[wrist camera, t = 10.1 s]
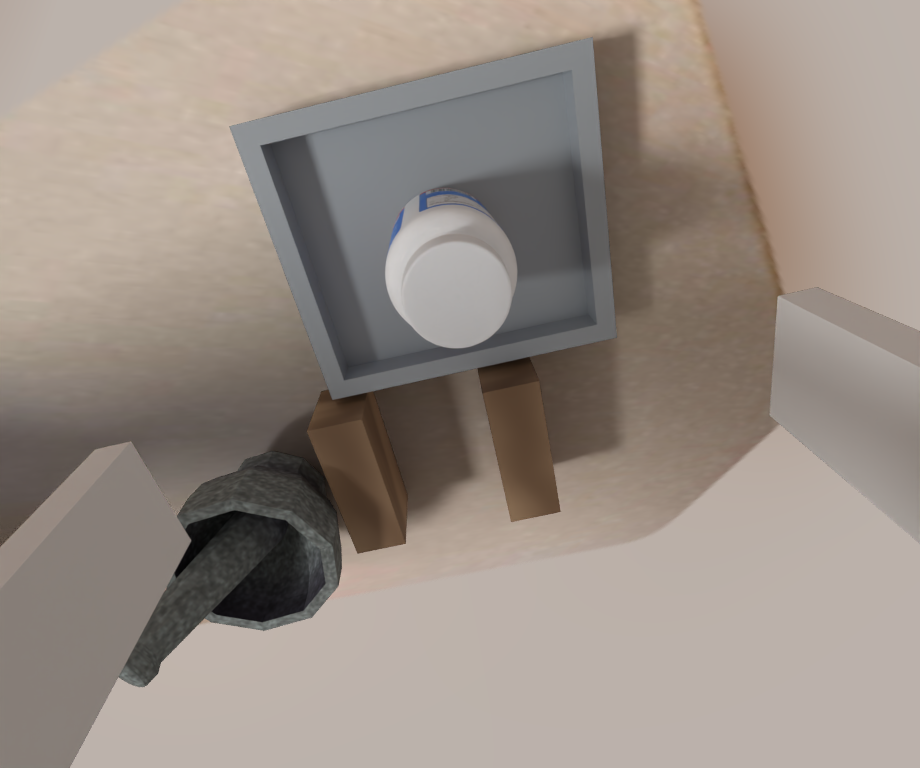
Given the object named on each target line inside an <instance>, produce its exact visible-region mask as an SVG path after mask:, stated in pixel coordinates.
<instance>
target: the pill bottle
mask: <svg viewBox="0 0 920 768" xmlns="http://www.w3.org/2000/svg"><path fill="white" fill-rule="evenodd" d="M385 280H386V286H387V291H388V294H389V297H390V299H391V302H392V303H393V305H394V307H395V309H396V310H397V312H398V313H399V314H400V315H401V317H402V318H403V319H404V320H405V321H406V322H407V323H409V324H410V325H411V326H412V327H413V329H414V330H415V331H416V332H417V333H418V334H419V335H420V336H422V337H423V338H424V339H426V340H427V341H429V342H431V343H433V344H435V345H439V346H442V347H447V348H466V347H471V346H474V345H476V344H479V343H481V342H483V341H485V340H486V339H488V338H490V337H491V336H492V335H493V334H494V333H495V332H496V331H497V330H498V329H499V328H500V327H501V325H502V324H503V323H504V321H505V319H506V317H507V315H508V313H509V310H510V306H511V302H512V297H513V295H514V291H515V288H516V283H517V262H516V257H515V253H514V250H513V248H512V245H511V243H510V241H509V239H508V238H507V236H506V234H505V233H504V231H503V230H502V228H501V227H500V226H499V225H498V224H497V222H496V221H495V220H494V219H493V217H492V216H491V215H490V214H489V212H488V211H487V210H486V208H485V207H484V206H483V205H482V204H481V203H480V202H479V201H478V200H477V199H476V198H474V197H473V196H471V195H470V194H468V193H466V192H463V191H460V190H456V189H452V188H438V189H432V190H428V191H426V192H423V193H421V194H419V195H417V196H416V197H414V198H413V199H412V200H410V201H409V202H408V203H407V204H406V205H405V207H404V208H403V209H402V210H401V212H400V213H399V215H398V217H397V219H396V221H395V223H394V226H393V230H392V235H391V240H390V244H389V249H388V254H387V258H386V266H385Z"/></svg>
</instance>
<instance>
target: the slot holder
mask: <svg viewBox="0 0 920 768" xmlns="http://www.w3.org/2000/svg"><path fill="white" fill-rule="evenodd" d="M478 373H479V378H480V383H481V388H482V393H483V397H484V402H485V406H486V411H487V415H488V420H489V424H490V429H491V433H492V438H493V442H494V447H495V451H496V456H497V460H498V465H499V469H500V474H501V478H502V483H503V487H504V492H505V496H506V501H507V505H508V510H509V514H510V519H511V522H514V521H518V520H523V519H528V518H533V517H538V516H543V515H548V514H553V513H557V512H561V511H560V505H559V499H558V493H557V487H556V481H555V474H554V468H553V462H552V456H551V450H550V444H549V438H548V431H547V425H546V419H545V413H544V407H543V401H542V394H541V388H540V382H539V379H538V377H537V374H536V372H535V370H534V367H533V365H532V363H531V360H530V358H529V357H526V358H522V359H517V360H513V361H508V362H503V363H499V364H494V365H490V366H485V367H481V368H478ZM307 433H308V436H309V438H310V441H311V443H312V445H313V448H314V450H315V453H316V455H317V457H318V460H319V462H320V465H321V467H322V469H323V472H324V474H325V477H326V479H327V481H328V484H329V486H330V489H331V491H332V493H333V496H334V498H335V501H336V503H337V505H338V508H339V510H340V513H341V515H342V517H343V520H344V522H345V525H346V527H347V529H348V532H349V534H350V537H351V539H352V541H353V544H354V546H355V549H356V551H357V553H363V552H368V551H372V550H377V549H382V548H387V547H392V546H397V545H402V544H406V524H407V502H408V495H407V492H406V489H405V486H404V483H403V480H402V477H401V474H400V471H399V468H398V465H397V462H396V459H395V456H394V453H393V450H392V447H391V444H390V441H389V438H388V435H387V432H386V429H385V426H384V423H383V420H382V417H381V414H380V411H379V408H378V405H377V402H376V399H375V396H374V393H373V391H371V392H367V393H362V394H358V395H353V396H348V397H344V398H339V399H335V400H332V398H331V395H330V392H329V390H326V391H321V394H320V397H319V400H318V402H317V405H316V408H315V410H314V413H313V416H312V418H311V421H310V424H309V426H308V429H307Z"/></svg>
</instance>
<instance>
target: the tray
mask: <svg viewBox="0 0 920 768" xmlns="http://www.w3.org/2000/svg"><path fill="white" fill-rule="evenodd" d="M229 127H230V130H231V132H232V135H233V138H234V140H235V143H236V146H237V148H238V151H239V154H240V156H241V159H242V161H243V164H244V167H245V169H246V172H247V175H248V177H249V180H250V183H251V185H252V188H253V191H254V193H255V196H256V199H257V201H258V204H259V207H260V209H261V212H262V215H263V217H264V220H265V223H266V225H267V228H268V230H269V233H270V236H271V238H272V241H273V244H274V246H275V249H276V252H277V254H278V257H279V260H280V262H281V265H282V268H283V270H284V273H285V276H286V278H287V281H288V284H289V286H290V289H291V292H292V294H293V297H294V299H295V302H296V305H297V307H298V310H299V313H300V315H301V318H302V321H303V323H304V326H305V329H306V331H307V334H308V337H309V339H310V342H311V345H312V347H313V350H314V353H315V355H316V358H317V361H318V363H319V366H320V368H321V371H322V374H323V376H324V379H325V382H326V384H327V387H328V390H329V392H330V395H331V398H332V400H335V399H339V398H344V397H348V396H353V395H358V394H362V393H367V392H371V391H376V390H380V389H385V388H389V387H394V386H399V385H403V384H408V383H412V382H417V381H421V380H426V379H431V378H435V377H440V376H444V375H449V374H453V373H458V372H462V371H467V370H472V369H476V368H481V367H485V366H490V365H494V364H499V363H503V362H508V361H513V360H517V359H522V358H526V357H531V356H535V355H540V354H544V353H549V352H554V351H558V350H563V349H567V348H572V347H576V346H581V345H585V344H590V343H595V342H599V341H604V340H608V339H613V338H617V333H616V320H615V308H614V296H613V283H612V271H611V259H610V246H609V234H608V222H607V209H606V197H605V185H604V172H603V160H602V148H601V135H600V123H599V111H598V98H597V86H596V74H595V61H594V49H593V37H591V38H587V39H583V40H579V41H575V42H570V43H566V44H562V45H558V46H554V47H550V48H546V49H542V50H538V51H534V52H530V53H526V54H522V55H518V56H513V57H509V58H505V59H501V60H497V61H493V62H489V63H485V64H481V65H477V66H473V67H469V68H465V69H460V70H456V71H452V72H448V73H444V74H440V75H436V76H432V77H428V78H424V79H420V80H416V81H412V82H408V83H403V84H399V85H395V86H391V87H387V88H383V89H379V90H375V91H371V92H367V93H363V94H359V95H355V96H351V97H346V98H342V99H338V100H334V101H330V102H326V103H322V104H318V105H314V106H310V107H306V108H302V109H298V110H294V111H289V112H285V113H281V114H277V115H273V116H269V117H265V118H261V119H257V120H253V121H249V122H245V123H241V124H237V125H232V126H229ZM438 188H452V189H456V190H460V191H463V192H466V193H468V194H470V195H471V196H473V197H474V198H476V199H477V200H478V201H479V202H480V203H481V204H482V205H483V206H484V207H485V208H486V210H487V211H488V212H489V214H490V215H491V216H492V217H493V219H494V220H495V221H496V222H497V224H498V225H499V226H500V227H501V228H502V230H503V231H504V233H505V234H506V236H507V238H508V239H509V241H510V243H511V245H512V248H513V250H514V253H515V257H516V262H517V283H516V288H515V291H514V295H513V297H512V302H511V306H510V310H509V313H508V315H507V317H506V319H505V321H504V323H503V324H502V325H501V327H500V328H499V329H498V330H497V331H496V332H495V333H494V334H493V335H492V336H491V337H490V338H488V339H486V340H485V341H483V342H481V343H479V344H476V345H474V346H471V347H466V348H447V347H442V346H439V345H435V344H433V343H431V342H429V341H427V340H426V339H424V338H423V337H422V336H420V335H419V334H418V333H417V332H416V331H415V330H414V329H413V327H412V326H411V325H410V324H409V323H407V322H406V321H405V320H404V319H403V318H402V317H401V315H400V314H399V313H398V312H397V310H396V309H395V307H394V305H393V303H392V302H391V299H390V297H389V294H388V291H387V286H386V280H385V266H386V258H387V254H388V249H389V244H390V240H391V235H392V230H393V226H394V223H395V221H396V219H397V217H398V215H399V213H400V212H401V210H402V209H403V208H404V207H405V205H406V204H407V203H408V202H409V201H410V200H412V199H413V198H414V197H416V196H417V195H419V194H421V193H423V192H426V191H428V190H432V189H438Z"/></svg>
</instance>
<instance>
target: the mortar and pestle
mask: <svg viewBox="0 0 920 768" xmlns="http://www.w3.org/2000/svg"><path fill="white" fill-rule="evenodd" d="M177 518H178V519H179V521H180V523H181V524H182V526H183V528H184V529H185V531H186V533H187V534H188V536H189V538H190V539H191V542H190V544H189V546H188V548H187V550H186V552H185V553H184V555H183V557H182V559H181V561H180V563H179V565H178V567H177V568H176V570H175V572H174V574H173V576H172V578H171V580H170V581H169V583H168V585H167V587H166V588H167V589H166V590H165V592H164V593H163V595H162V596H161V598H160V600H159V602H158V604H157V606H156V608H155V609H154V611H153V613H152V615H151V617H150V619H149V621H148V623H147V624H146V626H145V628H144V630H143V632H142V634H141V636H140V638H139V639H138V641H137V643H136V645H135V647H134V649H133V651H132V652H131V654H130V656H129V658H128V660H127V662H126V664H125V666H124V667H123V669H122V671H121V673H120V675H119V678H121V679H122V680H124V681H126V682H127V683H129V684H132V685H134V686H138V687H145V686H146V685H148V683H149V682H150V681H151V680H152V679H153V678H154V677H155V676H156V675H157V674H158V672H159V668H160V664H161V662H162V661H163V660H164V659H165V658H166V657H167V656H168V655H169V654H170V653H171V652H172V651H173V650H174V649H175V648H176V647H177V646H178V645H179V644H180V643H181V642H182V641H183V639H185V637H187V636H188V634H190V632H191V631H192V630H193V629H194V628H195V627H196V626H197V625H198V624H199V623H200V622H201V621H202V620H203V619H204V618H206V619H207V620H209V621H210V622H213V623H219V624H226V625H232V626H238V627H245V628H251V629H257V630H263V631H264V630H268V629H272V628H276V627H279V626H283V625H286V624H290V623H293V622H297V621H301V620H304V619H308V618H312V617H313V615H314V614H315V613H316V612H317V611H318V610H319V608H320V607H321V606H322V605H323V604H324V603H325V601H326V600H327V599H328V598H329V597H330V595H331V594H332V593H333V592H334V591H335V589H336V588H337V587H338V586H339V580H340V575H341V569H342V555H341V542H340V535H339V527H338V520H337V513H336V510H335V509H334V507H333V505H332V504H331V502H330V500H329V499H328V498H327V496H326V489H325V482H324V477H323V476H322V475H321V474H320V473H319V472H318V471H317V470H315V469H314V468H313V467H312V466H311V465H310V464H309V463H308V462H307V461H306V460H305V459H304V458H301V457H296V456H292V455H287V454H283V453H278V452H274V451H272V452H268V453H265V454H262V455H259V456H256V457H252V458H249V459H246V460H244V462H243V463H242V465H241V466H240V468H239V469H238V471H237V472H234V473H231V474H228V475H224V476H221V477H218V478H216V479H213V480H211V481H208V482H206V483H203V484H201V486H200V487H199V488H198V489H197V490H196V491H195V492H194V493H193V494H192V495H191V496H190V497H189V498H188V499H187V501H186V502H185V504H184V506H183V507H182V509H181V510H180V512H179V514H178V515H177Z"/></svg>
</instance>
